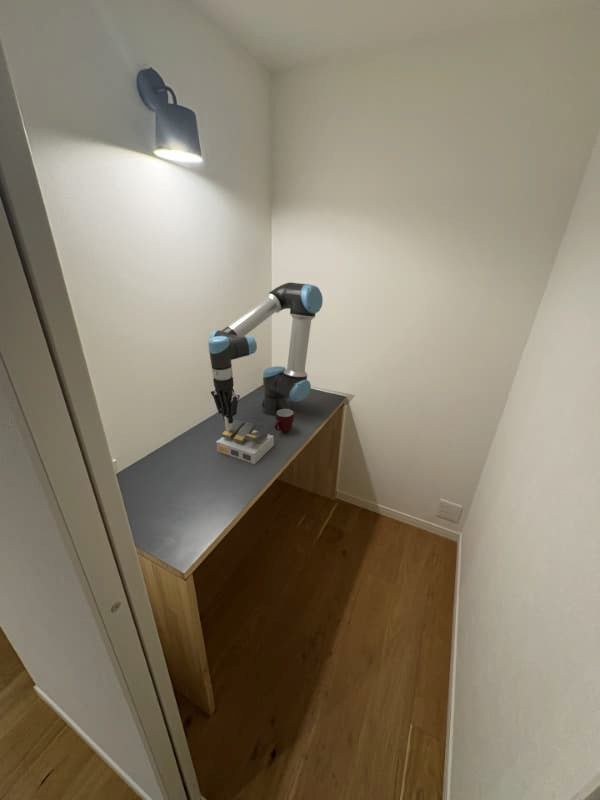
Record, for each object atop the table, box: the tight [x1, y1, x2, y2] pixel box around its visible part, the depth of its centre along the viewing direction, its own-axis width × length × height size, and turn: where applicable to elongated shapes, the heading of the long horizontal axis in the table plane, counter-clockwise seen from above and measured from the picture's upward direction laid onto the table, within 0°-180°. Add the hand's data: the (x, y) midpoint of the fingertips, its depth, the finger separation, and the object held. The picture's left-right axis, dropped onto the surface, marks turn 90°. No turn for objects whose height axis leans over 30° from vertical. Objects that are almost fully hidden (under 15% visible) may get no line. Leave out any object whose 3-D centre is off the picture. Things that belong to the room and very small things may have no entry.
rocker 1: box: [221, 419, 245, 440], centre depth 135 cm, size 10×4×2 cm, turn 153°
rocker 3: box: [245, 430, 269, 442], centre depth 130 cm, size 10×4×2 cm, turn 153°
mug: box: [274, 408, 295, 434], centre depth 146 cm, size 10×8×10 cm
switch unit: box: [215, 429, 275, 465], centre depth 135 cm, size 15×19×7 cm
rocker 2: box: [234, 421, 256, 444], centre depth 133 cm, size 10×4×2 cm, turn 153°
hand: (229, 428), depth 132 cm, fingers closed
